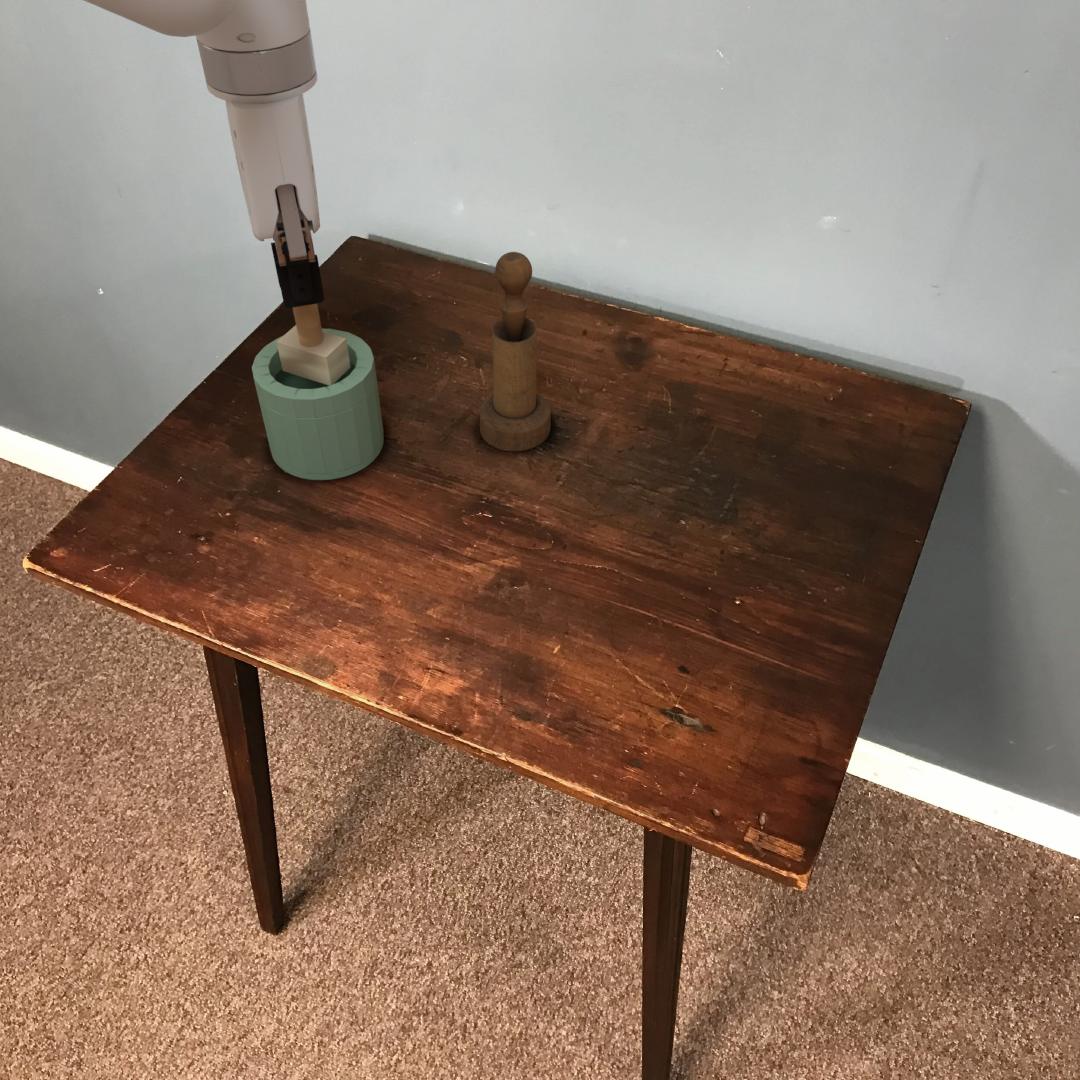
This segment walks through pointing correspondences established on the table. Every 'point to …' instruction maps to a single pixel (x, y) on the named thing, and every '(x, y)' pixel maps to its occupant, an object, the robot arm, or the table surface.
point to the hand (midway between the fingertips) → (301, 293)
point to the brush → (312, 348)
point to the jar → (321, 414)
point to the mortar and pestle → (514, 368)
